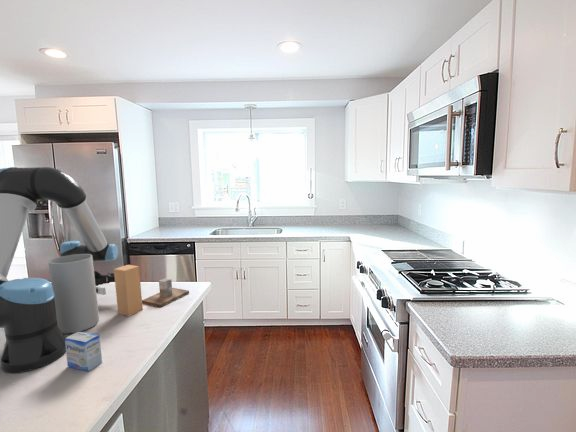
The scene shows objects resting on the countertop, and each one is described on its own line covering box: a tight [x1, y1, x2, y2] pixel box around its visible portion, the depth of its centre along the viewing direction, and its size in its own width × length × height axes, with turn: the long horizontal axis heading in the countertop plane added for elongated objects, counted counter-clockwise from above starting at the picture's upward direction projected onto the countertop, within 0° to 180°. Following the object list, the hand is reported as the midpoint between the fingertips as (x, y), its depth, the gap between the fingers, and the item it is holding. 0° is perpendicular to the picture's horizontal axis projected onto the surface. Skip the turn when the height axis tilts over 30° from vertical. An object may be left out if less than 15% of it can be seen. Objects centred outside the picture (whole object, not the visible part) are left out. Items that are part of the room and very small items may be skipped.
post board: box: [142, 277, 190, 308], centre depth 131 cm, size 16×11×8 cm
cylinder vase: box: [48, 254, 100, 335], centre depth 107 cm, size 12×12×25 cm
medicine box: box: [65, 331, 103, 372], centre depth 84 cm, size 8×4×9 cm, turn 73°
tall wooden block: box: [113, 264, 143, 317], centre depth 118 cm, size 6×6×18 cm
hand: (120, 285), depth 120 cm, fingers open, 13 cm apart
